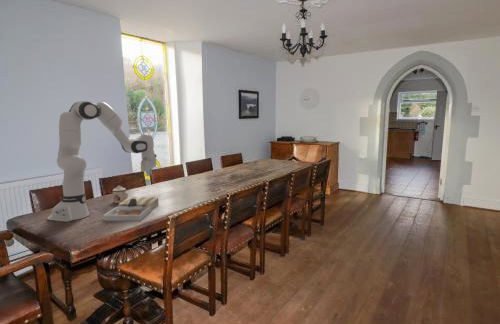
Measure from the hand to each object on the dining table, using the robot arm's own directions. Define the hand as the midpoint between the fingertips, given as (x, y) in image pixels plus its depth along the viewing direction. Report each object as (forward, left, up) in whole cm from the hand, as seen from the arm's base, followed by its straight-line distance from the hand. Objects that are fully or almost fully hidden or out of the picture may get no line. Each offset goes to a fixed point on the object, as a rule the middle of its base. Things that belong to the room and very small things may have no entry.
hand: (149, 175), depth 215 cm
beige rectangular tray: (0, -20, -19) cm, 27 cm away
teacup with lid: (-19, -6, -19) cm, 27 cm away
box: (0, -37, -19) cm, 41 cm away
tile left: (-4, -34, -16) cm, 38 cm away
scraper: (0, -36, -15) cm, 39 cm away
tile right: (+4, -35, -16) cm, 39 cm away
